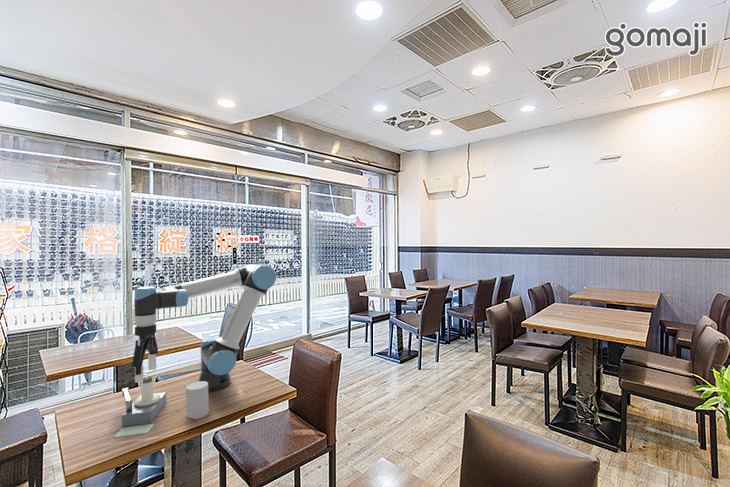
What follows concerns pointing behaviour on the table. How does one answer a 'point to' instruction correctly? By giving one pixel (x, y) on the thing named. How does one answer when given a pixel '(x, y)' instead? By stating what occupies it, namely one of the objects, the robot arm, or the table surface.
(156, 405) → the socket block
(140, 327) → the robot arm
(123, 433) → the mat
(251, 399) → the table surface
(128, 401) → the record player tonearm
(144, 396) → the plug
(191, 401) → the cup
